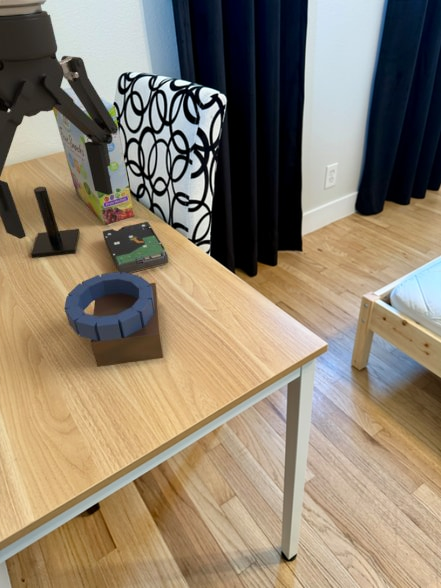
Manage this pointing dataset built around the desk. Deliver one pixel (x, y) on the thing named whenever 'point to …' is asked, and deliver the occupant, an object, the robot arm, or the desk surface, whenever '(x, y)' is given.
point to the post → (52, 231)
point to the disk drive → (135, 248)
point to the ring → (112, 324)
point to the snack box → (75, 151)
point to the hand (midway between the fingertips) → (63, 211)
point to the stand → (135, 345)
